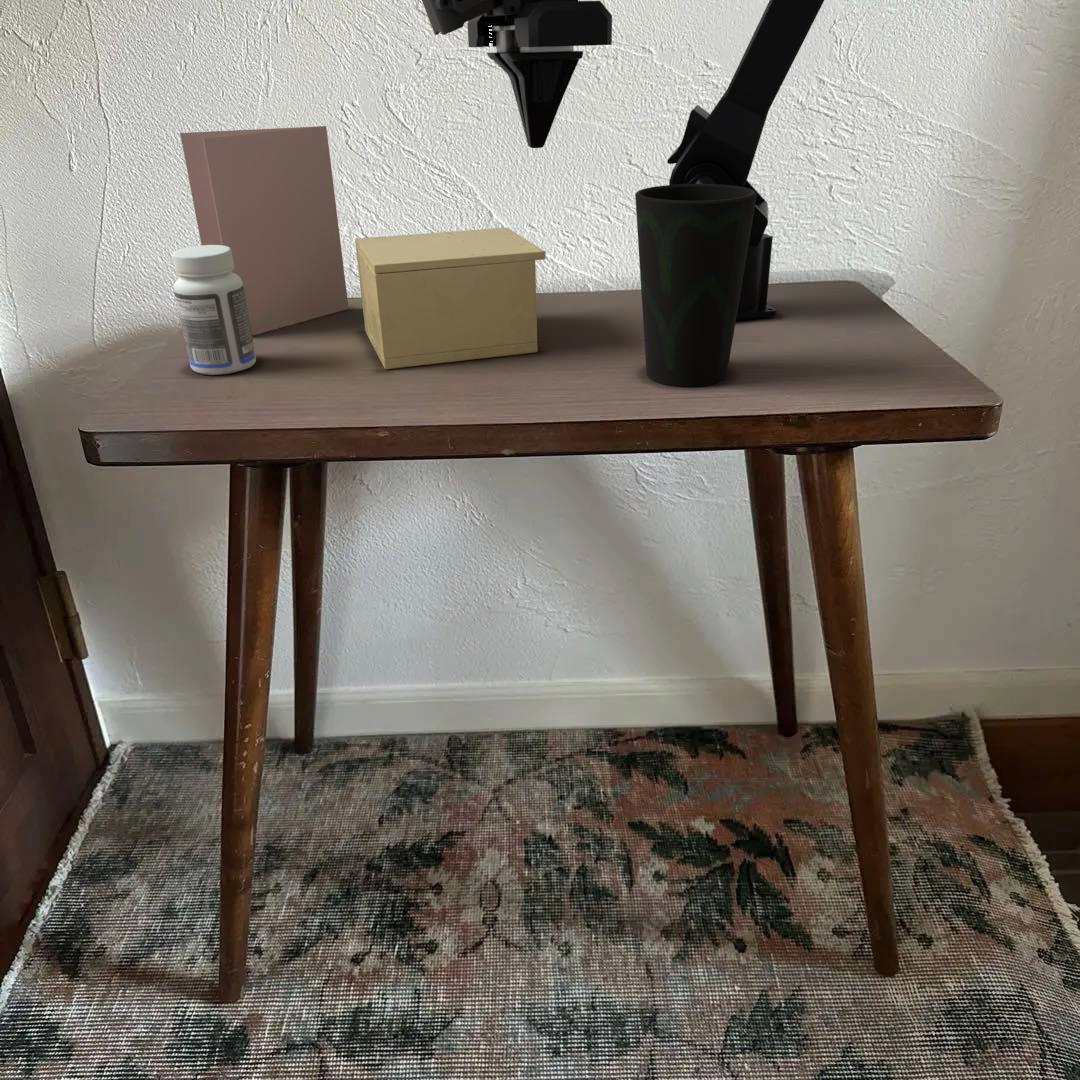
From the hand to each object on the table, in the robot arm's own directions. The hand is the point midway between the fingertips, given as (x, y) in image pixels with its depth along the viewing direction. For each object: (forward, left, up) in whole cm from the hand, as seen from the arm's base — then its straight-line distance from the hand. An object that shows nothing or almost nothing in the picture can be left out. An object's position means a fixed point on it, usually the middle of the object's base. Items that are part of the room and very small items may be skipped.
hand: (535, 147), depth 77 cm
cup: (-4, +22, -13) cm, 26 cm away
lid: (+10, +8, -6) cm, 14 cm away
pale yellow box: (+10, +8, -13) cm, 18 cm away
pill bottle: (+27, +8, -13) cm, 31 cm away
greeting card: (+22, -3, -13) cm, 26 cm away
